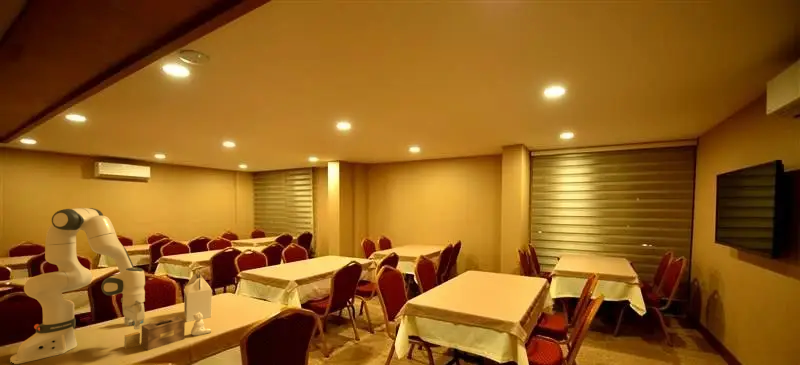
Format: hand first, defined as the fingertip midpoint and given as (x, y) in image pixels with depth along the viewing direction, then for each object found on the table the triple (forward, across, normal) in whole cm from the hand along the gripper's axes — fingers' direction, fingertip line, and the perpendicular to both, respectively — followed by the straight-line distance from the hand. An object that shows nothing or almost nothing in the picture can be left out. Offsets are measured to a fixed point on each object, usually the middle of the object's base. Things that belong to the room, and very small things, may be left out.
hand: (133, 327), depth 168 cm
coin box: (+10, -8, -11) cm, 16 cm away
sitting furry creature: (+10, -12, -26) cm, 31 cm away
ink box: (+9, +39, -11) cm, 42 cm away
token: (+10, 0, 0) cm, 10 cm away
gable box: (+10, +23, -40) cm, 47 cm away
